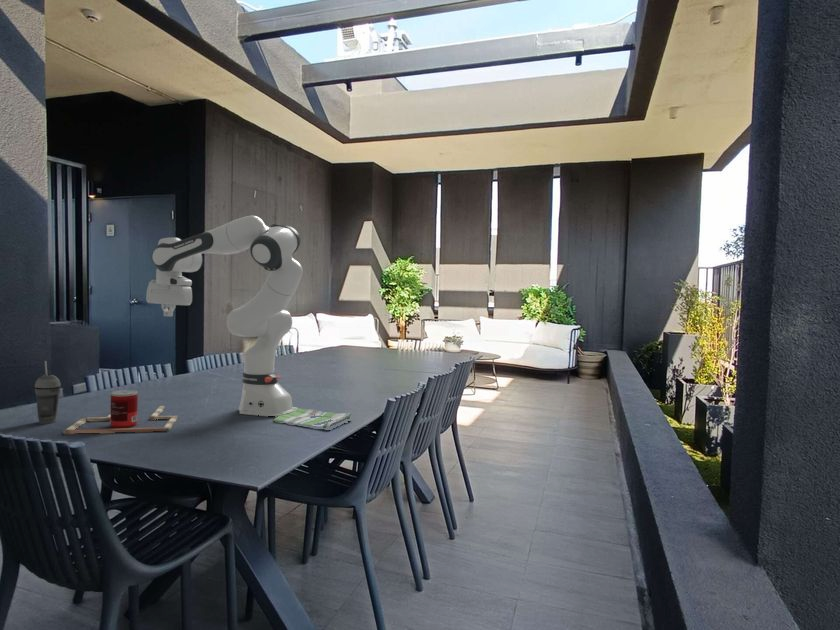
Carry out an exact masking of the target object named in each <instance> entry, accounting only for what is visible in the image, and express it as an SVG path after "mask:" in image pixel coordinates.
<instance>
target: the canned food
mask: <svg viewBox="0 0 840 630" xmlns="http://www.w3.org/2000/svg"><path fill="white" fill-rule="evenodd" d="M138 394H139V393H138V390H136V389H135V390H134V389H119V390H114V391H112V392H111V393H110V414H111V419H110V421H109V423H110V426H111V428H113V427H114V428H113V429H120V428H126V427H129V428H133V427H135V426H137V424H138V405H139V403H138V402H139V401H138V399H139V396H138ZM132 426H133V427H132Z"/></svg>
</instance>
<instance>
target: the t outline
mask: <svg viewBox="0 0 840 630" xmlns="http://www.w3.org/2000/svg"><path fill="white" fill-rule="evenodd" d="M163 409H164V410H165V406H164V405H159V407H158V408H157V409H156V410H155V411H154V412H153V413H152V414H151V415H150V416H149V421H159V420H158V419H167V420H166V421H167V423H165V425H164V427H159V426H158V427H129V428H95V429H93V428H91V429H88V428H85V429H78V428H80V427H81V426H82V424H83V425H84V424H85V423H87V422H86V421H90V422H110V419H111V413H110V414H108V415H107V416H100V417H99V416H98V417H95V416H93V417H92V416H91V417H81V418H80V419H79V420H77V421H76V422H74V423H73V424H71V425H70V426H69V427H67V428H66V429H64V430H63V431H62V432H63V433H62V435H63V434H64V435H75V434H74V433H100V434H116V433H115V432H135V433H154V432H153V431H168V432H169V431H170V430H171V428H172V426H173V425H174V424H175V423H176V421H177V420H178V416H179V415H161V413H162V412H163V411H164V410H163ZM158 415H159V416H158ZM156 419H157V420H156ZM174 422H175V423H174ZM79 426H80V427H79ZM76 428H77V429H76ZM75 429H76V430H75ZM169 429H170V430H169Z"/></svg>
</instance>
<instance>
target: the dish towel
mask: <svg viewBox="0 0 840 630" xmlns="http://www.w3.org/2000/svg"><path fill="white" fill-rule="evenodd" d="M314 415H315V416H322V417H316V418H310V417H311V416H314ZM350 418H352V413H351V412H348V413H347V412H345V413H343V412H342V413H341V412H340V413H337V412H330V411H329V412H328V411H327V412H325V411H321V410H316V409H311V408H310V409H308V408H299V407H298V409H297V410H295V411H294V412H292V413H289V414H287V415H286V414H285V415H280V416H278V417H274V419H273V420H272V422H273V421H276V422H283V423H291V424H301V425H308V426H316V427H323V428H330V427H331V426H333V425H336V424H338V423H340V422H342V421H344V420H346V419H350ZM330 419H331V420H333V421H331V422H328V423H325V424H321V425H314V424H317V423H321V422H324V421H328V420H330Z"/></svg>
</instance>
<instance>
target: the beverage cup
mask: <svg viewBox="0 0 840 630" xmlns="http://www.w3.org/2000/svg"><path fill="white" fill-rule="evenodd" d="M44 370H45V374H43V375H41V376H40V377H38V378H37V379H36V380H35V383H34V388H33V389H34V392H35V393H34V394H35V397H36V408H37V417H38V423H39V424H42V425H44V424H45V425H47V424H53V423H56V422H57V421H56V420H57V416H58V408H59V399H60V393H61V387H62V383H61V381H60V379H59V378H58V377H57V376H56V375H54V374H48V364H47V360H44Z"/></svg>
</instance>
